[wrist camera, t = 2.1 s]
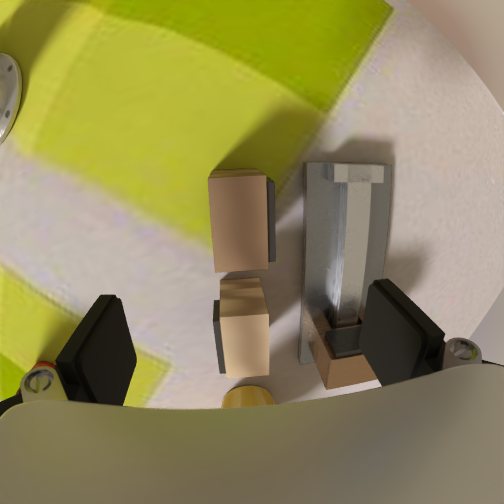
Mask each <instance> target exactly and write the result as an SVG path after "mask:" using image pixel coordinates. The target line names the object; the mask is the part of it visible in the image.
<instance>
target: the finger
mask: <svg viewBox="0 0 504 504" xmlns="http://www.w3.org/2000/svg"><path fill="white" fill-rule="evenodd" d="M208 188H209V203H210V216H211V229H212V242H213V254H214V265H215V273H217V272H233V271H247V270H262V269H268V262H274V261H276V246H275V186H274V181H273V180H271V179H270V178H268V177H266V175H265V174H263V173H262V172H261V171H259V170H258V169H256V168H247V169H228V170H213V171H212V172H211V174H210V176H209V177H208Z"/></svg>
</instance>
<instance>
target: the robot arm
mask: <svg viewBox="0 0 504 504" xmlns="http://www.w3.org/2000/svg"><path fill="white" fill-rule="evenodd" d="M21 93H22V75H21V70H20V67H19V64H18V63H17V61H16V60H15V59H14V58H13V57H11V56H10V55H6V54H2V53H0V144H1V143H2V141H3V140H4V139H5V138H6V136H7V134H8V132H9V131H10V129H11V127H12V125H13V122H14V120H15V118H16V115H17V111H18V108H19V104H20V100H21ZM444 336H445V333H444V332H443V331H442V330H441V329H440V328H439V327H438V326H437V325H436V324H435V323H434V322H433V321H432V320H431V319H430V318H429V317H428V316H427V315H426V314H425V313H424V312H423V311H422V310H421V309H420V308H419V307H418V306H417V305H416V304H415V303H414V302H413V301H412V300H411V299H410V298H409V297H408V296H406V295H405V294H404V293H403V292H402V291H401V290H400V289H399V288H398V287H397V286H396V285H395V284H394V283H393V282H391V281H390V280H389V279H379V280H374V281H373V283H372V284H370V285H369V287H368V293H367V299H366V305H365V311H364V317H363V322H362V327H361V332H360V337H359V348H360V350H361V352H362V353H363V355H364V357H365V358H366V360H367V362H368V363H369V365H370V367H371V368H372V370H373V372H374V373H375V375H376V377H377V378H378V380H379V382H380V384H381V385H382V387H378V388H373V389H369V390H364V391H360V392H355V393H350V394H344V395H339V396H333V397H328V398H321V399H315V400H308V401H301V402H293V403H285V404H275V405H265V406H253V407H238V408H214V409H167V408H144V407H129V406H123V403H124V400H125V397H126V394H127V391H128V388H129V384H130V381H131V378H132V375H133V372H134V369H135V366H136V363H137V357H136V353H135V349H134V346H133V343H132V339H131V336H130V332H129V328H128V325H127V321H126V317H125V313H124V309H123V305H122V301H121V299H120V298H117V297H116V295H100V296H99V297H98V299H97V300H96V301H95V303H94V304H93V305H92V307H91V308H90V310H89V311H88V312H87V314H86V315H85V317H84V318H83V320H82V321H81V322H80V324H79V325H78V327H77V328H76V330H75V331H74V333H73V334H72V336H71V337H70V339H69V340H68V342H67V343H66V345H65V346H64V348H63V349H62V351H61V352H60V354H59V355H58V357H57V359H56V360H55V361H56V366H55V368H54V369H53V368H51V367H47V366H41V367H37V368H34V369H32V370H30V371H29V372H28V373H26V374H25V375H24V377H23V378H22V380H21V383H20V389H21V393H19V394H17V395H15V396H13V397H10V398H8V399H6V400H4V401H1V402H0V504H504V366H503V365H500V364H496V363H492V362H488V361H484V360H482V355H481V350H480V348H479V347H478V346H477V345H476V344H475V343H474V342H472V341H470V340H468V339H465V338H452V339H450V340H448V341H447V342H445V341H444V340H443V339H444Z"/></svg>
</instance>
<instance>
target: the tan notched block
mask: <svg viewBox="0 0 504 504" xmlns="http://www.w3.org/2000/svg"><path fill="white" fill-rule="evenodd" d="M213 326H214V334H215V342H216V349H217V356H218V364H219V371H220V374H223V373H226V376H227V378H240V377H253V376H264V375H269V313H268V309H267V305H266V301H265V297H264V294H263V290H262V286H261V282H260V278H248V279H233V280H220V300H214V310H213Z"/></svg>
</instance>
